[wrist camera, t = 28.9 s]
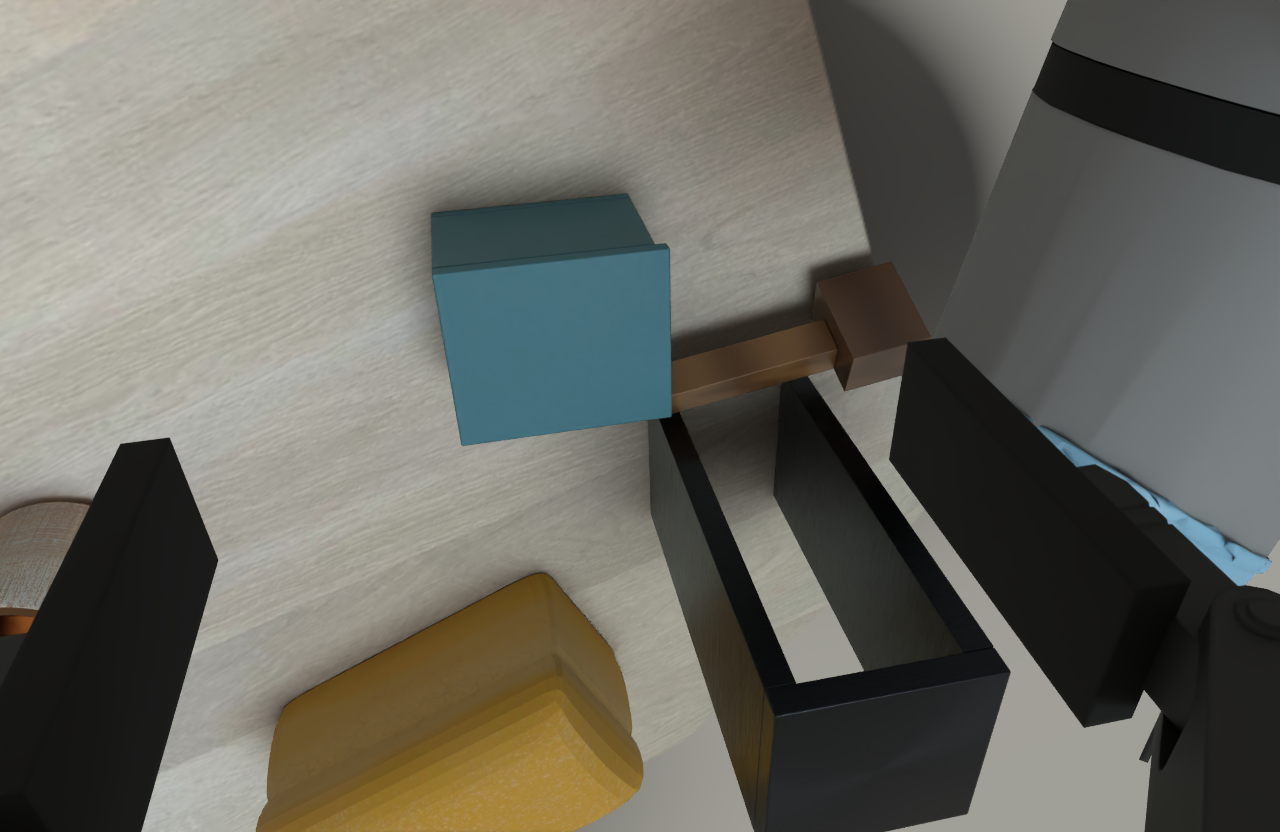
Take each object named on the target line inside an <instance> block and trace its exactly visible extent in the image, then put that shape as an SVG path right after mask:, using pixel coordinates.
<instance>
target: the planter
mask: <svg viewBox="0 0 1280 832" xmlns="http://www.w3.org/2000/svg"><path fill="white" fill-rule="evenodd" d="M89 507H90V505H88V504H82V503H75V502H44V503H37V504H32V505H28V506H24V507H21V508H18V509H16V510H13V511H11V512H9V513H7V514H5V515H4V516H2V517H1V518H0V637H2V636H9V635H15V634H22V633H27V632H28V630H29V628H30V626H31V624H32V622H33V620H34V618H35V616H36V614H37V612H38V610H39V608H40V606H41V604H42V602H43V600H44V598H45V596H46V594H47V592H48V590H49V588H50V586H51V584H52V582H53V580H54V578H55V576H56V574H57V572H58V570H59V568H60V565H61V563H62V561H63V559H64V557H65V555H66V553H67V551H68V549H69V547H70V545H71V543H72V541H73V539H74V537H75V535H76V533H77V531H78V529H79V527H80V525H81V523H82V521H83V519H84V517H85V515H86V513H87V511H88V509H89Z"/></svg>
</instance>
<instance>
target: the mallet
mask: <svg viewBox="0 0 1280 832" xmlns="http://www.w3.org/2000/svg"><path fill="white" fill-rule="evenodd" d="M811 319H812V321H813V322H812V323H808V324H805V325H801V326H798V327H794V328H790V329H787V330H783V331H780V332H776V333H772V334H769V335H765V336H762V337H758V338H754V339H751V340H747V341H744V342H740V343H736V344H733V345H729V346H726V347H722V348H718V349H715V350H711V351H708V352H704V353H700V354H697V355H693V356H690V357H686V358H682V359H679V360H675V361H672V362H671V392H672V414H674V413H678V412H681V411H685V410H688V409H692V408H695V407H699V406H702V405H706V404H709V403H713V402H717V401H720V400H724V399H727V398H731V397H734V396H738V395H741V394H745V393H749V392H752V391H756V390H759V389H763V388H766V387H770V386H773V385H777V384H780V383H784V382H788V381H791V380H795V379H798V378H802V377H805V376H809V375H812V374H816V373H819V372H823V371H827V370H830V369H833V368H834V370H835V372H836V374H837V376H838V379H839V381H840V383H841V385H842V387H843V390H844V391H848V390H852V389H855V388H859V387H862V386H866V385H869V384H873V383H877V382H880V381H884V380H887V379H891V378H894V377H898V376H901V375H903V368H904V362H905V356H906V350H907V343H908V342H913V341H921V340H929V339H931V336H930V334H929V332H928V330H927V328H926V326H925V324H924V322H923V320H922V318H921V317H920V315H919V313H918V311H917V309H916V307H915V305H914V303H913V302H912V299H911V298H910V296H909V294H908V292H907V290H906V288H905V286H904V285H903V282H902V281H901V279H900V277H899V275H898V273H897V271H896V269H895V267H894V265H893V263H892V262H888V263H885V264H881V265H877V266H873V267H870V268H866V269H863V270H859V271H855V272H852V273H848V274H844V275H841V276H837V277H833V278H830V279H826V280H822V281H819V282H817V286H816V291H815V297H814V302H813V308H812V314H811Z"/></svg>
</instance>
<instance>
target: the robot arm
mask: <svg viewBox="0 0 1280 832" xmlns="http://www.w3.org/2000/svg"><path fill="white" fill-rule="evenodd" d="M1051 40H1052V41H1053V42H1052V44H1051V47H1050V49H1049V52H1048V54H1047V57H1046V60H1045V62H1044V64H1043V67H1042V69H1041V72H1040V74H1039V77H1038V79H1037V82H1036V84H1035V86H1034V88H1033V89H1032V93H1031V95H1030V98H1029V100H1028V103H1027V105H1026V108H1025V110H1024V113H1023V115H1022V118H1021V120H1020V123H1019V126H1018V128H1017V130H1016V133H1015V135H1014V138H1013V140H1012V143H1011V145H1010V148H1009V150H1008V153H1007V155H1006V158H1005V160H1004V163H1003V165H1002V168H1001V170H1000V173H999V175H998V178H997V180H996V183H995V185H994V188H993V190H992V193H991V195H990V198H989V200H988V203H987V205H986V208H985V210H984V213H983V215H982V218H981V220H980V223H979V225H978V228H977V230H976V233H975V235H974V238H973V240H972V243H971V245H970V247H969V250H968V252H967V255H966V258H965V260H964V262H963V265H962V267H961V270H960V272H959V275H958V278H957V280H956V282H955V285H954V287H953V290H952V293H951V295H950V297H949V300H948V302H947V305H946V307H945V310H944V312H943V315H942V317H941V320H940V323H939V325H938V327H937V330H936V332H935V335H934V337H933V339H929V340H921V341H913V342H908V343H907V350H906V356H905V362H904V368H903V375H902V381H901V387H900V394H899V400H898V406H897V413H896V419H895V425H894V432H893V438H892V444H891V451H890V457H889V460H890V462H891V463H892V464H893V466H894V467H895V469H896V470H897V471H898V473H899V474H900V475H901V477H902V478H903V480H904V481H905V482H906V484H907V485H908V486H909V488H910V489H911V491H912V492H913V493H914V495H915V496H916V497H917V499H918V500H919V502H920V503H921V504H922V506H923V507H924V508H925V510H926V511H927V512H928V514H929V515H930V517H931V518H932V519H933V521H934V522H935V524H936V525H937V526H938V528H939V529H940V530H941V532H942V533H943V535H944V536H945V537H946V539H947V540H948V542H949V543H950V544H951V546H952V547H953V548H954V550H955V551H956V553H957V554H958V555H959V557H960V558H961V559H962V561H963V562H964V564H965V565H966V566H967V567H968V569H969V570H970V572H971V573H972V574H973V576H974V577H975V578H976V580H977V581H978V583H979V584H980V586H981V587H982V588H983V590H984V591H985V592H986V594H987V595H988V596H989V598H990V599H991V601H992V602H993V603H994V605H995V606H996V608H997V609H998V610H999V612H1000V613H1001V614H1002V616H1003V617H1004V619H1005V620H1006V621H1007V623H1008V624H1009V625H1010V627H1011V628H1012V630H1013V631H1014V632H1015V634H1016V635H1017V636H1018V638H1019V639H1020V641H1021V642H1022V643H1023V645H1024V646H1025V647H1026V649H1027V650H1028V652H1029V653H1030V654H1031V656H1032V657H1033V658H1034V660H1035V661H1036V663H1037V664H1038V665H1039V666H1040V668H1041V669H1042V671H1043V672H1044V674H1045V675H1046V676H1047V678H1048V679H1049V680H1050V681H1051V683H1052V685H1053V686H1054V687H1055V689H1056V690H1057V691H1058V693H1059V694H1060V695H1061V697H1062V698H1063V700H1064V701H1065V702H1066V704H1067V705H1068V707H1069V708H1070V709H1071V711H1072V712H1073V713H1074V715H1075V716H1076V718H1077V719H1078V720H1079V722H1080V723H1081V724H1082V726H1083V727H1084V728H1085V727H1090V726H1095V725H1100V724H1105V723H1110V722H1114V721H1119V720H1124V719H1129V718H1132V716H1133V713H1134V711H1135V709H1136V707H1137V704H1138V702H1139V700H1140V698H1141V695H1142V693H1143V691H1144V690H1145V692H1146V693H1147V694H1148V695H1149V696H1150V698H1151V699H1152V700H1153V701H1154V702H1155V704H1156V705H1157V706H1158V707H1159V708H1160V710H1161V713H1160V715H1159V717H1158V719H1157V721H1156V723H1155V726H1154V728H1153V730H1152V732H1151V734H1150V737H1149V739H1148V741H1147V743H1146V745H1145V747H1144V749H1143V752H1142V754H1141V756H1140V759H1139V760H1142V761H1144V762H1147V763H1148V761H1149V759H1150V757H1151V755H1152V758H1151V768H1150V779H1149V790H1148V801H1147V812H1146V823H1145V832H1280V594H1278V593H1275V592H1273V591H1270V590H1268V589H1264V588H1258V587H1252V586H1247V585H1246V583H1247V582H1248V581H1249V580H1250V579H1251V578H1252V577H1253V576H1254V575H1255V574H1261V573H1264V572H1266V571H1267V569H1268V568H1269V566H1270V564H1271V563H1272V561H1270V560H1269V558H1268V557H1267V556H1268V555H1269V554H1270V552H1271V551H1272V549H1273V548H1274V546H1275V545H1276V544H1277V542H1278V541H1279V539H1280V0H1068V1H1067V3H1066V6H1065V8H1064V10H1063V12H1062V15H1061V17H1060V20H1059V22H1058V24H1057V26H1056V29H1055V31H1054V33H1053V36H1052V38H1051ZM217 563H218V558H217V555H216V553H215V550H214V548H213V545H212V543H211V540H210V538H209V535H208V533H207V530H206V528H205V525H204V523H203V520H202V518H201V515H200V513H199V510H198V508H197V505H196V503H195V500H194V498H193V495H192V493H191V490H190V488H189V485H188V483H187V480H186V478H185V475H184V473H183V470H182V468H181V465H180V462H179V460H178V457H177V455H176V452H175V450H174V447H173V445H172V442H171V440H170V438H163V439H155V440H147V441H139V442H132V443H124V444H120V446H119V448H118V450H117V452H116V454H115V456H114V458H113V460H112V462H111V464H110V466H109V468H108V470H107V472H106V474H105V476H104V479H103V481H102V483H101V485H100V487H99V489H98V491H97V493H96V495H95V497H94V499H93V501H92V503H91V505H90V507H89V509H88V511H87V513H86V515H85V517H84V519H83V521H82V523H81V525H80V527H79V529H78V531H77V533H76V535H75V537H74V539H73V541H72V543H71V545H70V547H69V549H68V551H67V553H66V555H65V557H64V559H63V561H62V563H61V565H60V568H59V570H58V572H57V574H56V576H55V578H54V580H53V582H52V584H51V586H50V588H49V590H48V592H47V594H46V596H45V598H44V600H43V602H42V604H41V606H40V608H39V610H38V612H37V614H36V616H35V618H34V620H33V622H32V624H31V626H30V628H29V630H28V632H27V633H22V634H15V635H9V636H2V637H0V832H141V831H142V827H143V824H144V820H145V817H146V813H147V809H148V806H149V802H150V799H151V795H152V792H153V788H154V785H155V781H156V778H157V774H158V771H159V767H160V764H161V760H162V757H163V753H164V750H165V746H166V742H167V739H168V735H169V732H170V728H171V725H172V721H173V718H174V714H175V711H176V707H177V704H178V700H179V697H180V693H181V690H182V686H183V683H184V679H185V675H186V672H187V668H188V665H189V661H190V658H191V654H192V651H193V647H194V644H195V640H196V637H197V633H198V630H199V626H200V623H201V619H202V616H203V612H204V609H205V605H206V601H207V598H208V594H209V591H210V587H211V584H212V580H213V577H214V573H215V570H216V566H217Z"/></svg>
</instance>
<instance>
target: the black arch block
mask: <svg viewBox="0 0 1280 832" xmlns="http://www.w3.org/2000/svg"><path fill="white" fill-rule="evenodd" d="M648 430H649V464H650V498H651V516H652V519H653V522H654V525H655V528H656V531H657V534H658V537H659V540H660V543H661V546H662V549H663V553H664V556H665V559H666V562H667V565H668V568H669V571H670V574H671V577H672V580H673V583H674V586H675V590H676V593H677V596H678V599H679V602H680V605H681V608H682V611H683V614H684V617H685V620H686V623H687V626H688V630H689V633H690V636H691V639H692V642H693V645H694V648H695V651H696V654H697V657H698V660H699V663H700V667H701V670H702V673H703V676H704V679H705V682H706V685H707V688H708V691H709V694H710V697H711V700H712V703H713V707H714V710H715V713H716V716H717V719H718V722H719V725H720V728H721V731H722V734H723V737H724V740H725V743H726V747H727V750H728V753H729V756H730V759H731V762H732V765H733V768H734V771H735V774H736V777H737V780H738V784H739V786H740V790H741V792H742V796H743V799H744V802H745V805H746V808H747V811H748V814H749V817H750V820H751V824H752V826H753V829H754V832H885V831H891V830H895V829H900V828H905V827H909V826H914V825H918V824H923V823H928V822H932V821H937V820H942V819H946V818H951V817H955V816H960V815H965V814H967V813H968V811H969V807H970V804H971V801H972V797H973V794H974V791H975V788H976V784H977V781H978V777H979V774H980V771H981V768H982V765H983V761H984V758H985V755H986V752H987V748H988V745H989V742H990V738H991V735H992V732H993V728H994V725H995V722H996V719H997V715H998V712H999V709H1000V705H1001V702H1002V699H1003V696H1004V692H1005V689H1006V686H1007V682H1008V679H1009V676H1010V670H1009V668H1008V667H1007V665H1006V664H1005V663H1004V661H1003V660H1002V658H1001V657H1000V656H999V654H998V653H997V651H996V649H995V648H993V645H992V643H991V642H990V640H989V639H988V638H987V636H986V635H985V633H984V632H983V630H982V629H981V627H980V626H979V624H978V623H977V622H976V620H975V619H974V617H973V616H972V614H971V613H970V611H969V610H968V608H967V607H966V606H965V604H964V603H963V601H962V600H961V599H960V597H959V596H958V594H957V593H956V591H955V590H954V588H953V587H952V585H951V584H950V582H949V581H948V580H947V578H946V577H945V575H944V574H943V572H942V571H941V570H940V568H939V567H938V565H937V564H936V562H935V561H934V559H933V558H932V556H931V555H930V553H929V552H928V550H927V549H926V548H925V546H924V545H923V543H922V542H921V540H920V539H919V537H918V536H917V535H916V533H915V532H914V530H913V529H912V527H911V526H910V524H909V523H908V521H907V520H906V519H905V517H904V516H903V514H902V513H901V511H900V510H899V508H898V507H897V505H896V504H895V503H894V501H893V500H892V498H891V497H890V495H889V494H888V492H887V491H886V489H885V488H884V487H883V485H882V484H881V482H880V481H879V479H878V478H877V476H876V475H875V474H874V472H873V471H872V469H871V468H870V466H869V465H868V463H867V462H866V460H865V459H864V458H863V456H862V455H861V453H860V452H859V450H858V449H857V447H856V446H855V445H854V443H853V442H852V440H851V439H850V437H849V436H848V434H847V433H846V431H845V430H844V429H843V427H842V426H841V424H840V423H839V421H838V420H837V418H836V417H835V415H834V414H833V413H832V411H831V410H830V408H829V407H828V405H827V404H826V402H825V401H824V400H823V398H822V397H821V395H820V394H819V392H818V391H817V389H816V388H815V386H814V385H813V384H812V382H811V381H810V379H809V378H808V376H805V377H802V378H798V379H795V380H791V381H788V382H784V383H781V397H780V411H779V425H778V439H777V454H776V468H775V482H774V497H775V499H776V501H777V503H778V505H779V507H780V509H781V511H782V512H783V514H784V516H785V518H786V520H787V522H788V524H789V526H790V528H791V530H792V532H793V534H794V536H795V538H796V540H797V542H798V543H799V545H800V547H801V549H802V551H803V553H804V555H805V557H806V559H807V561H808V563H809V565H810V567H811V569H812V571H813V572H814V574H815V576H816V578H817V580H818V582H819V584H820V586H821V588H822V590H823V592H824V594H825V596H826V598H827V600H828V602H829V603H830V605H831V607H832V609H833V611H834V613H835V615H836V617H837V619H838V621H839V623H840V625H841V627H842V629H843V631H844V633H845V634H846V636H847V638H848V640H849V642H850V644H851V646H852V647H853V650H854V652H855V654H856V655H857V657H858V660H859V662H860V663H861V665H862V667H863V669H864V671H863V672H857V673H852V674H847V675H841V676H836V677H830V678H825V679H820V680H815V681H809V682H804V683H798V684H796V682H795V679H794V677H793V675H792V672H791V670H790V668H789V665H788V663H787V661H786V659H785V656H784V654H783V651H782V649H781V647H780V644H779V642H778V640H777V637H776V635H775V633H774V630H773V628H772V626H771V623H770V621H769V619H768V616H767V614H766V612H765V609H764V607H763V605H762V602H761V600H760V598H759V595H758V593H757V591H756V588H755V586H754V584H753V582H752V579H751V577H750V575H749V572H748V570H747V568H746V565H745V563H744V561H743V558H742V556H741V554H740V551H739V549H738V547H737V544H736V542H735V540H734V537H733V535H732V533H731V530H730V528H729V526H728V523H727V521H726V519H725V516H724V514H723V512H722V509H721V507H720V505H719V502H718V500H717V498H716V495H715V493H714V491H713V488H712V486H711V484H710V481H709V479H708V477H707V474H706V472H705V470H704V468H703V465H702V463H701V461H700V458H699V456H698V454H697V451H696V449H695V447H694V444H693V442H692V440H691V437H690V435H689V433H688V430H687V428H686V426H685V423H684V421H683V419H682V416H681V414H680V412H678V413H674V414H672V416H671V417H666V418H659V419H652V420H648Z"/></svg>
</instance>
